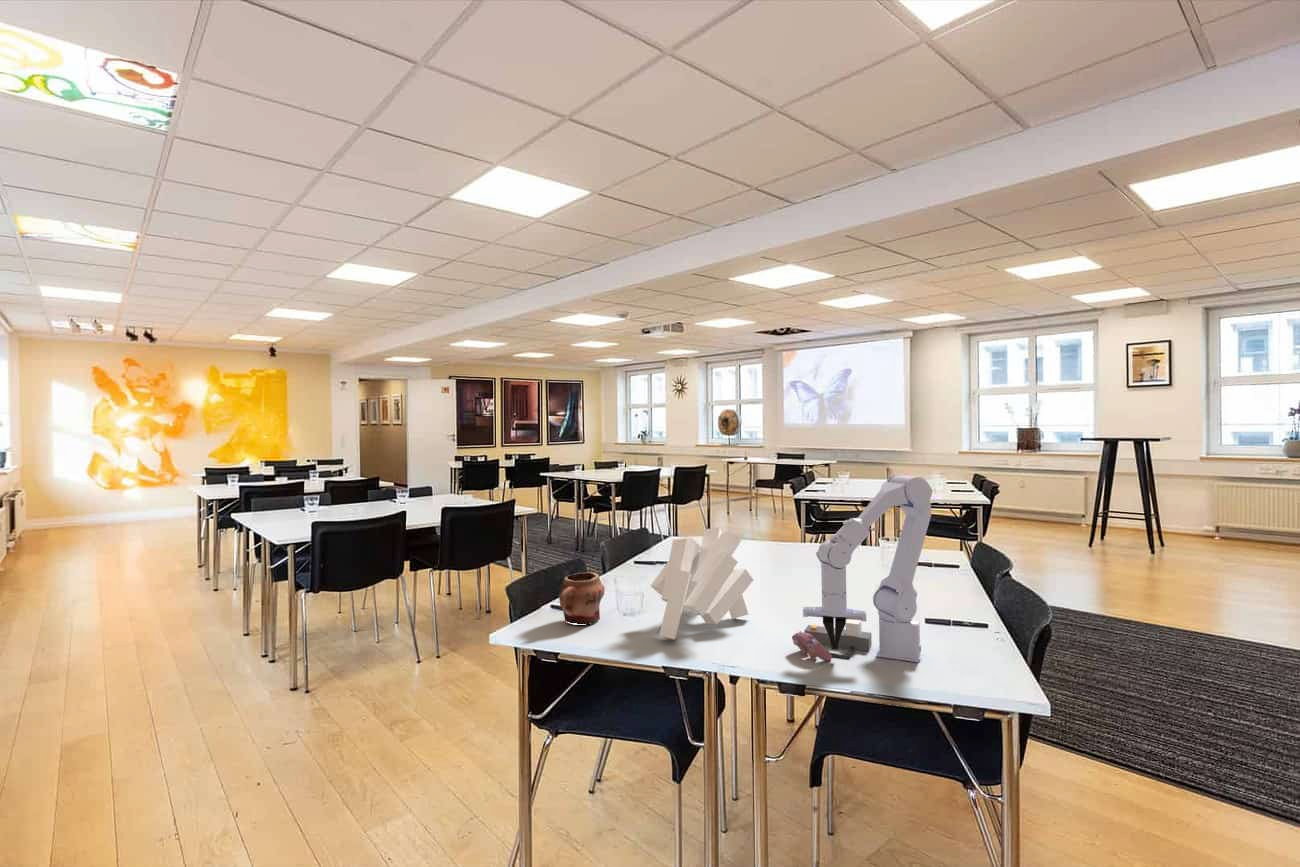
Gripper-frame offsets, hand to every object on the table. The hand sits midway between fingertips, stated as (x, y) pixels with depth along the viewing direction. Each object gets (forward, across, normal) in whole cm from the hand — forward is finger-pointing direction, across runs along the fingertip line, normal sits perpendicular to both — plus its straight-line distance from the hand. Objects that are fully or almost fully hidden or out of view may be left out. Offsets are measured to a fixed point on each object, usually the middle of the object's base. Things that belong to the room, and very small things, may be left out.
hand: (834, 648), depth 148 cm
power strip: (+3, 0, -8) cm, 9 cm away
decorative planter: (+3, +72, -10) cm, 72 cm away
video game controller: (+3, +6, -1) cm, 7 cm away
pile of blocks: (+3, +37, -19) cm, 42 cm away
